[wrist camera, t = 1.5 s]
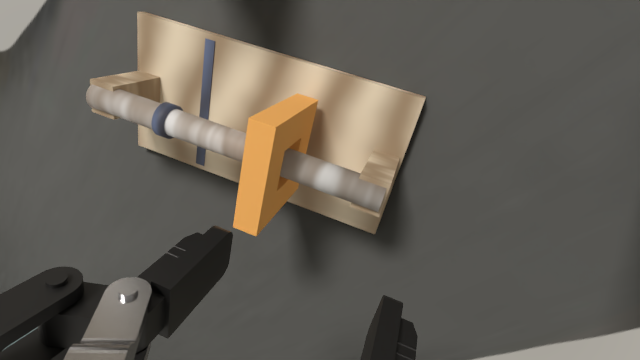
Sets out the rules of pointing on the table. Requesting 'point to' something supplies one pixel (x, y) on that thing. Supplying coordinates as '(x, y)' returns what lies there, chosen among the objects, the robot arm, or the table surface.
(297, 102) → the collar
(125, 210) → the table surface
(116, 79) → the pipe stand
